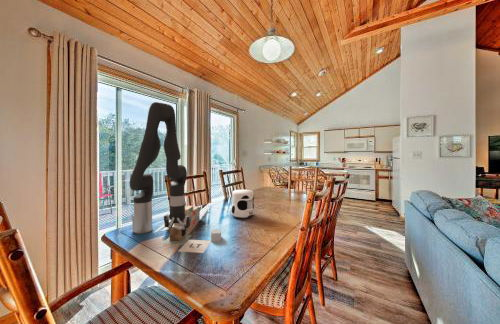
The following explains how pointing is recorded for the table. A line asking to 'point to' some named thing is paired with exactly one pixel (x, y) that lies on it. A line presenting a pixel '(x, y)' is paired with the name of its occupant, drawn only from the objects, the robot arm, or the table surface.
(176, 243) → the grey-green mat
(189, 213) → the stack of blocks
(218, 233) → the grey block
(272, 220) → the table surface
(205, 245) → the tile
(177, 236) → the walnut block
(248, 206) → the milk container
